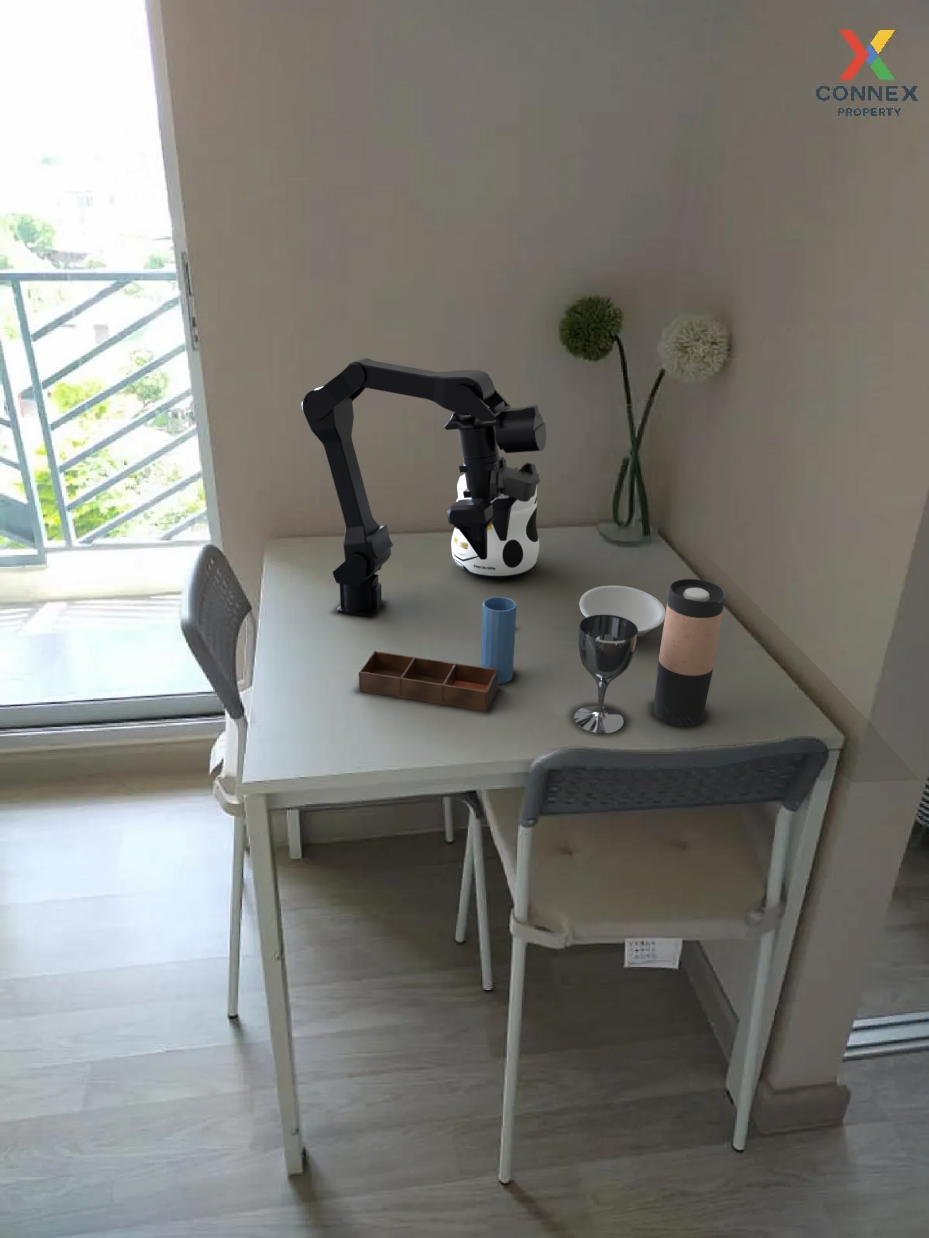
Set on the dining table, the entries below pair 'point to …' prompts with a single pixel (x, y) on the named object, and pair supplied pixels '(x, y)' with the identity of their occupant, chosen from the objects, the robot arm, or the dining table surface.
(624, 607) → the dish
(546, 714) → the dining table surface
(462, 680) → the caddy
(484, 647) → the tumbler
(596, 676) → the wine glass
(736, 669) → the dining table surface
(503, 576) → the milk container
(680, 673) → the travel mug
